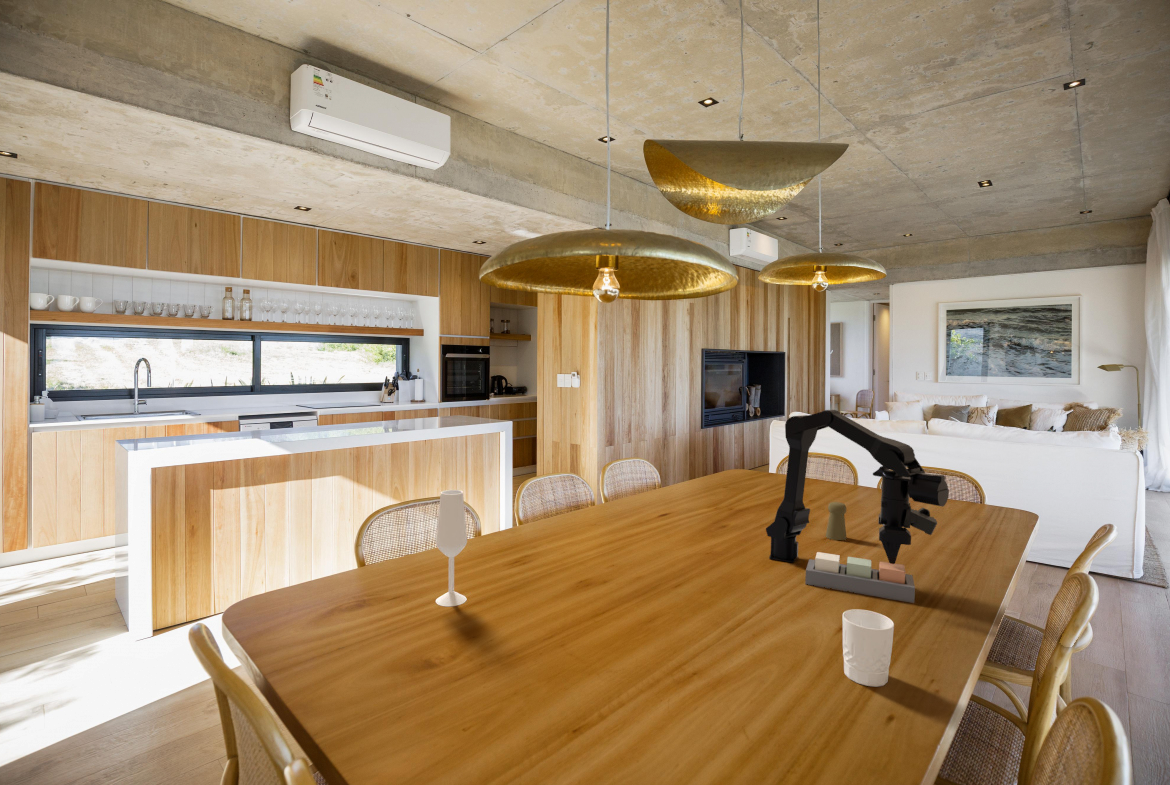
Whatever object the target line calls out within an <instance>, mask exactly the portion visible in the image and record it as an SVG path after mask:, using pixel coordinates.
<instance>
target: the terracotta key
mask: <svg viewBox="0 0 1170 785" xmlns="http://www.w3.org/2000/svg"><path fill="white" fill-rule="evenodd" d="M878 570H879V580H883V581H889V582H895V583H901V584H905V574H906V567H905V564H901V563H900V564H899V563H895V564H890V563H889V561H888V562H886V561H879V566H878Z"/></svg>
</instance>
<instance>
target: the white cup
mask: <svg viewBox="0 0 1170 785" xmlns="http://www.w3.org/2000/svg"><path fill="white" fill-rule="evenodd" d="M894 629H895V623H894V621H893V620H892V619H891V618H890V617H888V616H886V615H884V614H883V613H882V614H881V613H880V612H879V613H878V612H876V611H872V610H867V609H859V608H857V609H855V608H853V609H847V610H845V611H844V612H843V613H842V657H843V672H844V675H845V676H846V677H847V678H848V679H849V680H851V681H853V682H855V683H856V684H860V685H863V686H866V687H867V686H868V687H873V688H874V687H876V688H877V687H878V688H879V687H883V686H885V685H886V684H887V683H888V680H889V670H890V664H891V660H892V658H891V656H892V650H893V640H894V631H895V630H894Z"/></svg>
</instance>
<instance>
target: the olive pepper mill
mask: <svg viewBox="0 0 1170 785" xmlns="http://www.w3.org/2000/svg"><path fill="white" fill-rule="evenodd" d="M827 509H828V512H829V516H828V520H827V527H826V532H825V533H826V534H825V538H826V537H827V538H826V539H828V538H829V539H828V540H831V539H833V540H832V541H836V540H845V541H847V540H846V539H847V538H848V537H847V530H846V519H845V514H846V513H847V505H846V504H845V503H842V502H839V501H838V502H837V501H833V502H830V503H829V504H828V505H827Z"/></svg>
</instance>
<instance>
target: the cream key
mask: <svg viewBox="0 0 1170 785" xmlns="http://www.w3.org/2000/svg"><path fill="white" fill-rule="evenodd" d="M840 558H841V557H840V554H839V555H838V554H834V553H828V552H827V553H826V552H820V551H817V552H816V555H815V558H814V560H815V570H821V571H828V572H834V573H839V564H840Z"/></svg>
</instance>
